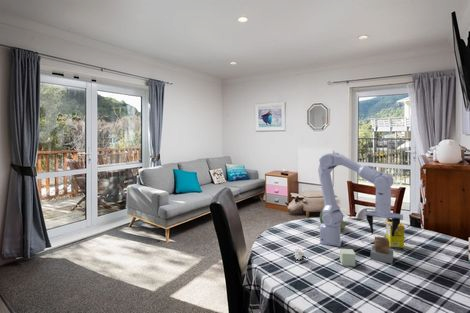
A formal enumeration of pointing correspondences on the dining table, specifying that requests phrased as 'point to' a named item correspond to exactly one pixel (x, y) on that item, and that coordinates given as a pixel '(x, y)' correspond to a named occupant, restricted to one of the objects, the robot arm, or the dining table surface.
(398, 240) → the supplement box
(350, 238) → the dining table surface
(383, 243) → the walnut cube
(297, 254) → the white lumpy piece
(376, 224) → the dining table surface
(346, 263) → the sage cube
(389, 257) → the pedestal block
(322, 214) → the vegetable
